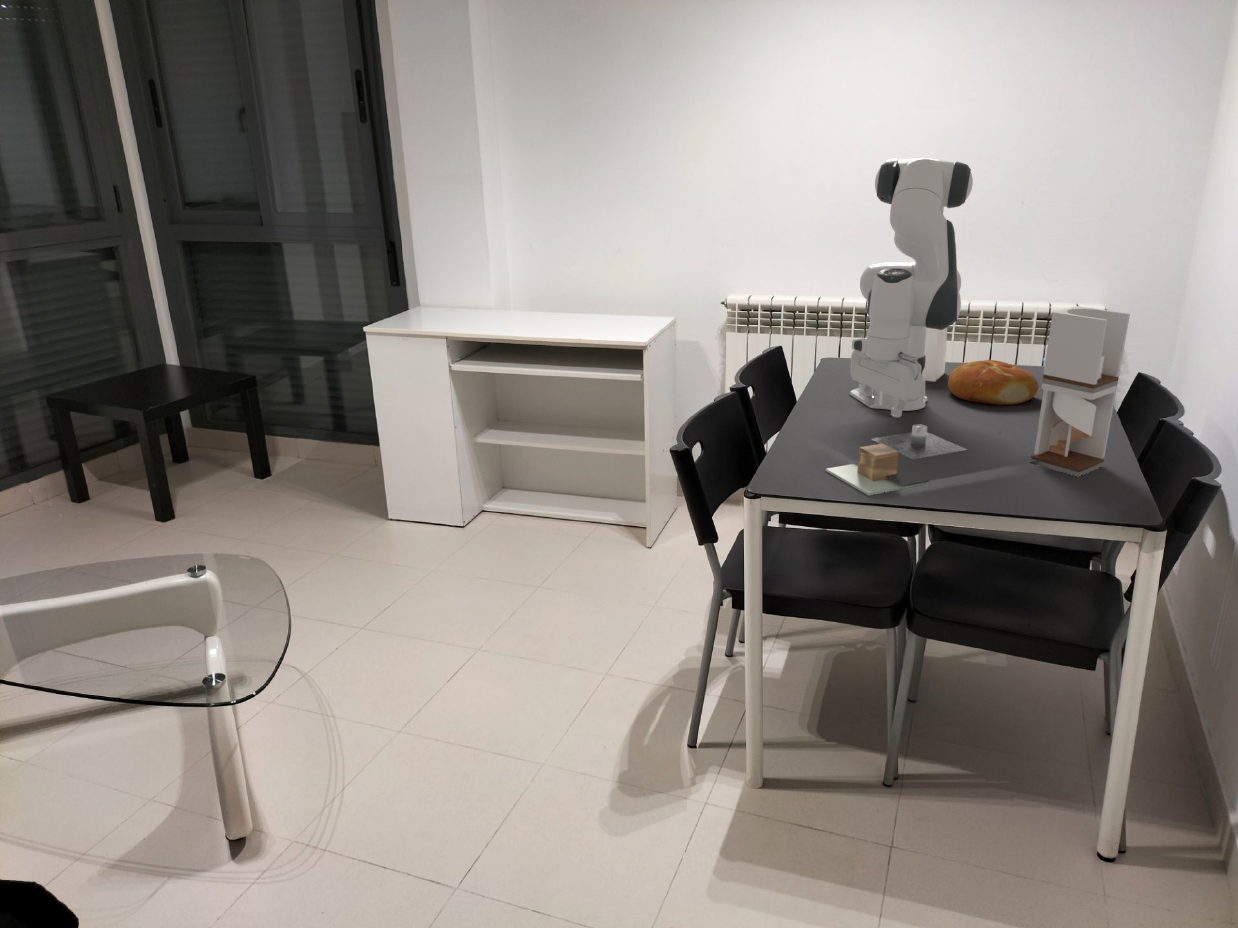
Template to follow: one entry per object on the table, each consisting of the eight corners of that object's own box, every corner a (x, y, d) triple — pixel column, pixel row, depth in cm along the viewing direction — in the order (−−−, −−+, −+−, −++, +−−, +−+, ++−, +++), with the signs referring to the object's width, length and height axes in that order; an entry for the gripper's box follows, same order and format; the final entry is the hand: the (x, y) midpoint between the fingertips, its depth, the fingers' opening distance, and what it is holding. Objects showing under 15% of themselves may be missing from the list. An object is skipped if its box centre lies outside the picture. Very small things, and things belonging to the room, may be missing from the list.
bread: (1018, 414, 247) (1023, 378, 244) (933, 399, 262) (937, 365, 258) (1046, 395, 263) (1051, 361, 260) (965, 382, 278) (969, 350, 274)
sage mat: (825, 471, 209) (825, 468, 209) (883, 461, 214) (884, 458, 214) (868, 495, 195) (868, 492, 195) (929, 484, 200) (930, 481, 200)
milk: (944, 373, 287) (953, 289, 278) (934, 381, 278) (944, 295, 269) (905, 368, 293) (913, 286, 284) (895, 376, 284) (903, 292, 275)
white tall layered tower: (1030, 463, 212) (1052, 312, 199) (1054, 453, 218) (1077, 306, 205) (1078, 477, 203) (1105, 320, 191) (1102, 466, 209) (1130, 313, 197)
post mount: (869, 444, 225) (871, 421, 223) (922, 436, 231) (925, 413, 229) (911, 465, 211) (914, 440, 209) (967, 455, 217) (970, 431, 215)
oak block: (857, 472, 206) (859, 447, 204) (879, 468, 208) (881, 443, 206) (873, 481, 201) (876, 455, 199) (896, 477, 203) (898, 451, 201)
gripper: (932, 357, 187) (925, 422, 192) (871, 336, 204) (866, 396, 209) (907, 361, 184) (900, 426, 189) (847, 339, 202) (842, 399, 207)
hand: (882, 410), depth 199 cm, fingers open, 8 cm apart
